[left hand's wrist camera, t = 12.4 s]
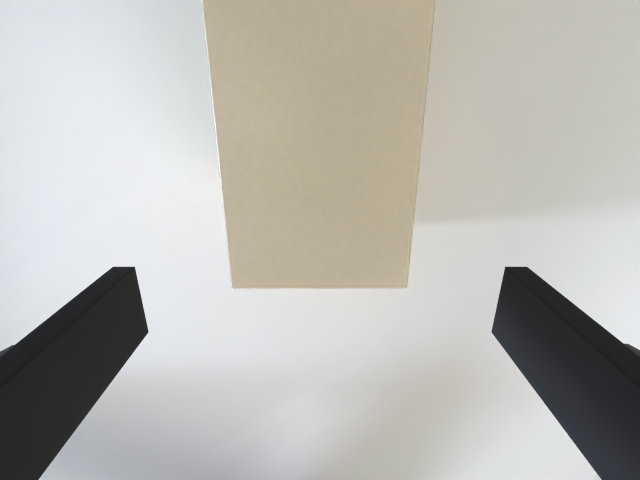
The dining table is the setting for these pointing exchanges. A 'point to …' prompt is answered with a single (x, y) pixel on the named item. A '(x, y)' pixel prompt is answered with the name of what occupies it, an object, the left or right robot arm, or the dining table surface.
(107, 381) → the left robot arm
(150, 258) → the dining table surface
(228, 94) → the cabinet
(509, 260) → the dining table surface
